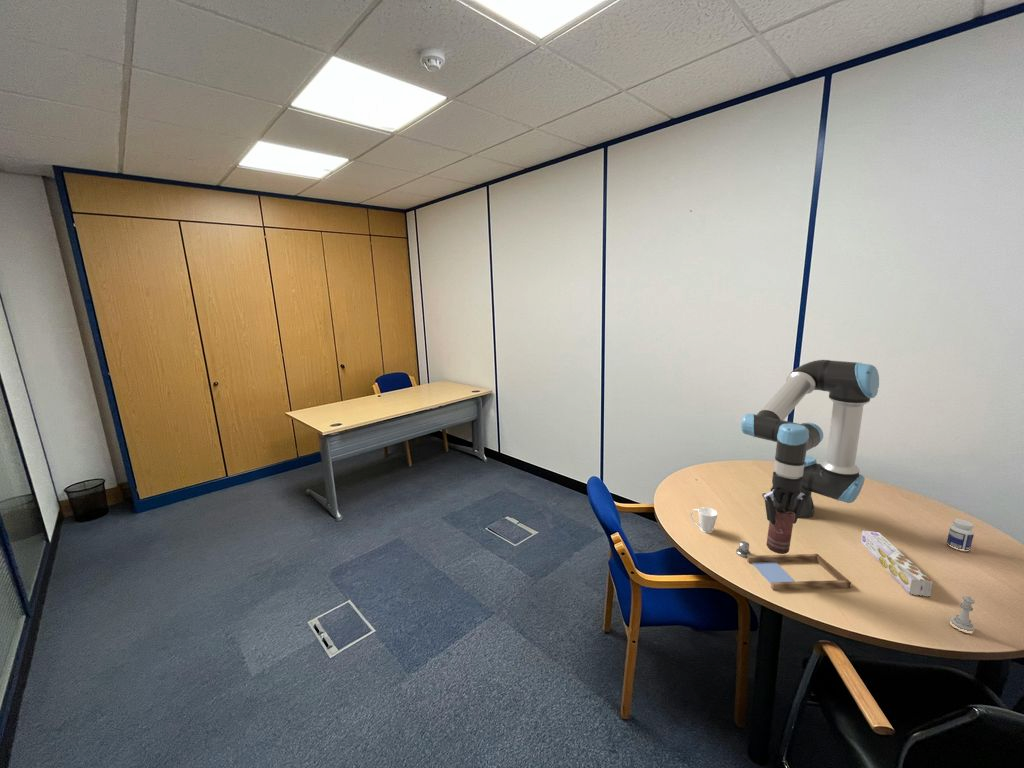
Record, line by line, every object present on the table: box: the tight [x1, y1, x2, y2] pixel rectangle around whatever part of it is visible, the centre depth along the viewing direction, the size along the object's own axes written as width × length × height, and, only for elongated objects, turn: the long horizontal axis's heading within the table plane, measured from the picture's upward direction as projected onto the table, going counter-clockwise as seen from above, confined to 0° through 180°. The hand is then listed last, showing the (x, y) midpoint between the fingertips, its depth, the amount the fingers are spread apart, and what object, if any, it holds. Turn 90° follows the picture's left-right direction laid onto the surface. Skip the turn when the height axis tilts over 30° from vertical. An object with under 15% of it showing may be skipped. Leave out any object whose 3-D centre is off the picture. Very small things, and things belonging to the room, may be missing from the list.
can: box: [766, 506, 795, 555], centre depth 128 cm, size 6×6×14 cm
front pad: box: [751, 562, 796, 585], centre depth 132 cm, size 8×11×1 cm
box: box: [860, 530, 934, 597], centre depth 133 cm, size 27×5×6 cm, turn 165°
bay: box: [746, 553, 852, 591], centre depth 132 cm, size 24×14×2 cm, turn 90°
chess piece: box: [950, 595, 976, 631], centre depth 109 cm, size 4×4×10 cm
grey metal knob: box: [735, 540, 752, 559], centre depth 142 cm, size 4×4×4 cm
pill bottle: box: [946, 518, 975, 550], centre depth 142 cm, size 6×6×10 cm
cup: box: [689, 506, 718, 534], centre depth 158 cm, size 7×10×8 cm
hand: (778, 542), depth 129 cm, fingers closed
